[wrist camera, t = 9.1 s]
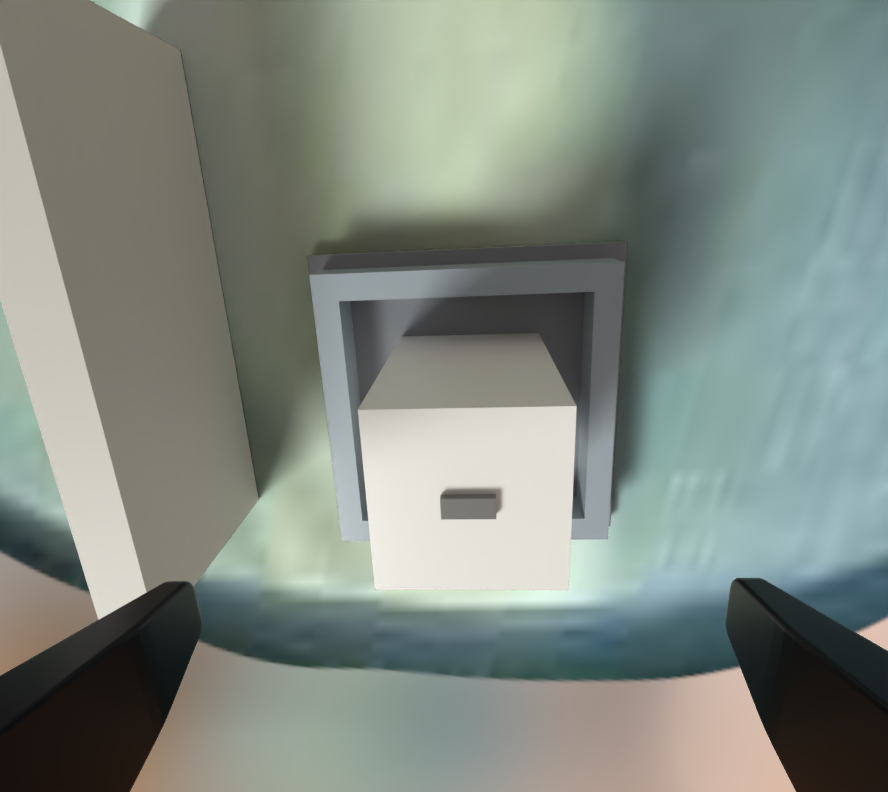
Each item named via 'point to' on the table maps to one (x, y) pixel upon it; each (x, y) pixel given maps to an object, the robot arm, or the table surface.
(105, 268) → the wall stub
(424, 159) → the table surface
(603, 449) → the frame
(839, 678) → the robot arm
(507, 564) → the block
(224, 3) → the table surface
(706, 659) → the table surface
